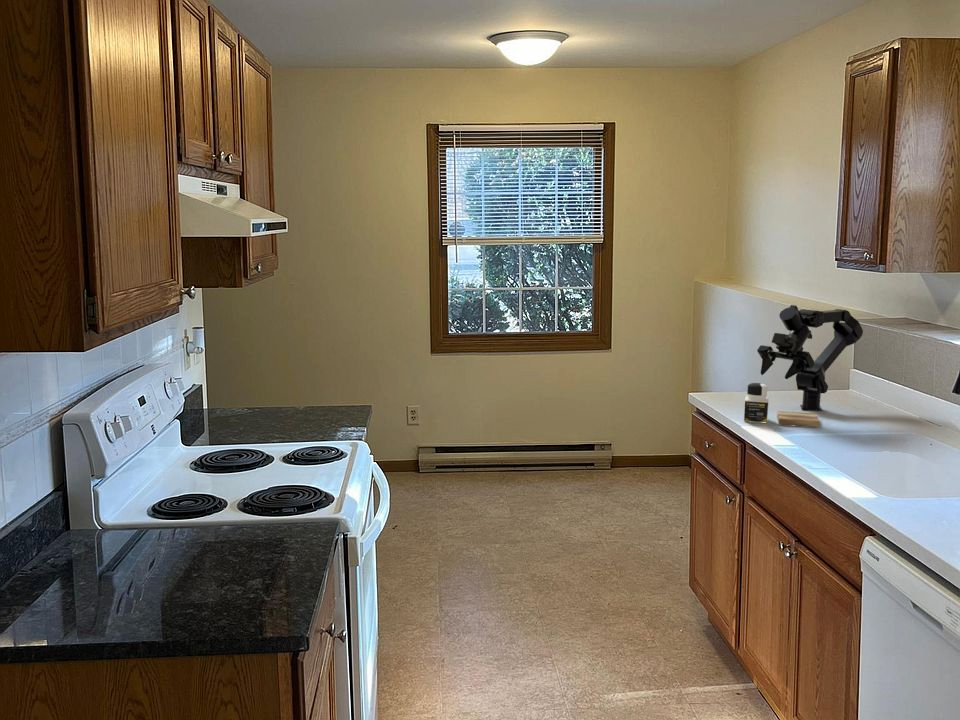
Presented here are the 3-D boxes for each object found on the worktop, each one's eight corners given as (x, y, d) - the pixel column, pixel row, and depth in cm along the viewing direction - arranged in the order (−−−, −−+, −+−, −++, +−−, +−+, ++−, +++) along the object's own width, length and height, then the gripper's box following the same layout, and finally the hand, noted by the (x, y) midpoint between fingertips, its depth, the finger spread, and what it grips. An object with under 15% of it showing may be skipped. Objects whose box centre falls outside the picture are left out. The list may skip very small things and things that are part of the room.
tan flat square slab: (776, 417, 313) (777, 411, 313) (815, 419, 310) (815, 413, 310) (779, 425, 302) (779, 418, 301) (819, 427, 299) (819, 421, 298)
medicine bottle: (743, 421, 306) (745, 385, 304) (744, 417, 312) (746, 381, 311) (766, 423, 304) (769, 386, 302) (767, 418, 310) (769, 382, 308)
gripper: (762, 321, 319) (739, 356, 314) (811, 327, 304) (789, 364, 299) (774, 342, 325) (753, 377, 320) (824, 349, 310) (801, 386, 305)
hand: (773, 376), depth 311 cm, fingers open, 9 cm apart
